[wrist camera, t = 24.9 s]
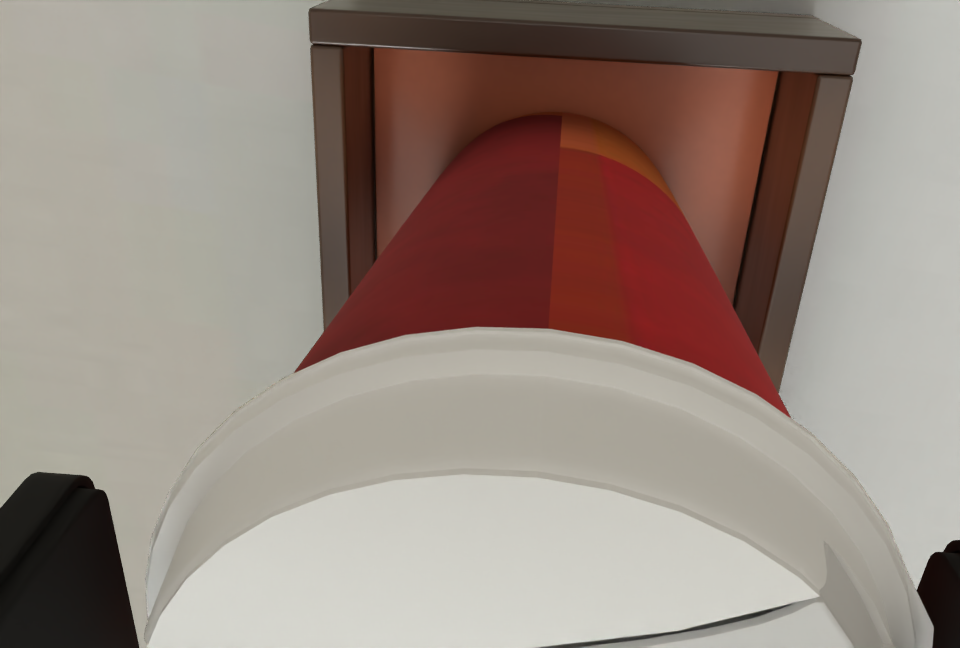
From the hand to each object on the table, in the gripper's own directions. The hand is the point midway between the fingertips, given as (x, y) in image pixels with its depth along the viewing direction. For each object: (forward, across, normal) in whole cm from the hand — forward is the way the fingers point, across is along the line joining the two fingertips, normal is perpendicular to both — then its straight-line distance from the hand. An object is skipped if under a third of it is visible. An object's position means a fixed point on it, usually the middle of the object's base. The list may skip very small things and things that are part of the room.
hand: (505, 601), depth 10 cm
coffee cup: (+13, -1, 0) cm, 13 cm away
